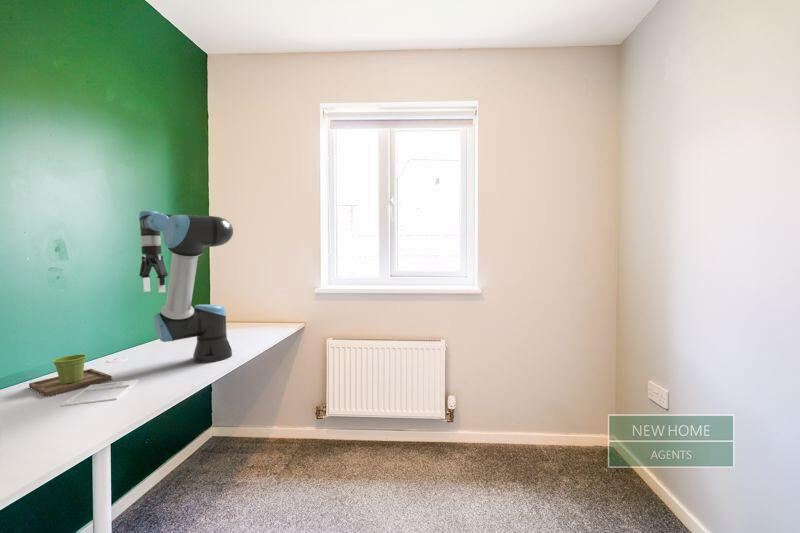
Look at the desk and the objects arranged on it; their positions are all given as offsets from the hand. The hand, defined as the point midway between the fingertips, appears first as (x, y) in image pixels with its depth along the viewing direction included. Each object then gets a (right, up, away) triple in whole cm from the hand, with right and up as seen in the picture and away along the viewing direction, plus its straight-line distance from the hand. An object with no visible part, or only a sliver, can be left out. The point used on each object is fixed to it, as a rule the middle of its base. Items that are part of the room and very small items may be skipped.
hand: (154, 292), depth 172 cm
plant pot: (-6, -30, -36) cm, 47 cm away
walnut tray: (-6, -31, -36) cm, 48 cm away
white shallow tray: (+13, -31, -46) cm, 57 cm away
